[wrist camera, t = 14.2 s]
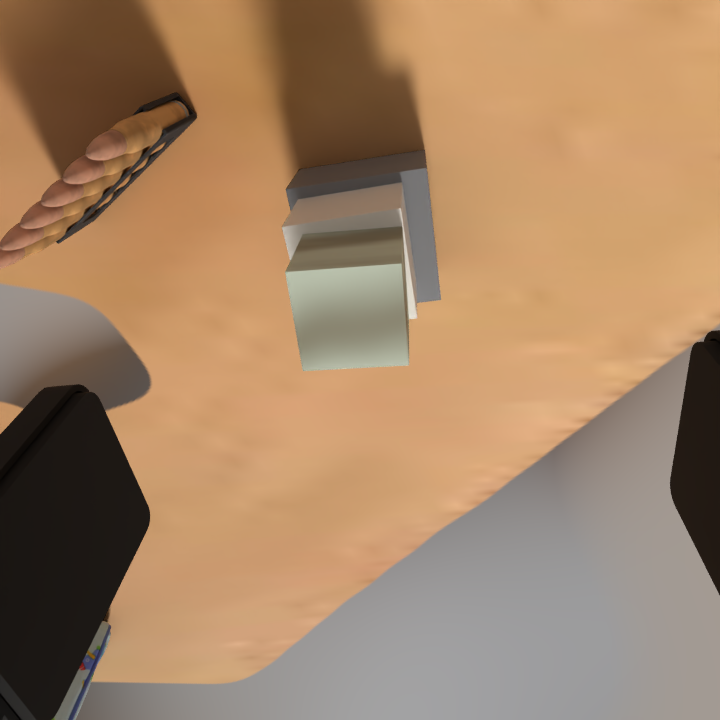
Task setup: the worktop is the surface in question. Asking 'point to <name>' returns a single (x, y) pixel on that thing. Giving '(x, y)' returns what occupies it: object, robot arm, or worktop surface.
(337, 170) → the tower base
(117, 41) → the worktop surface
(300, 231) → the tower top
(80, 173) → the ammunition clip
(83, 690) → the lunch box
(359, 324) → the sage block
